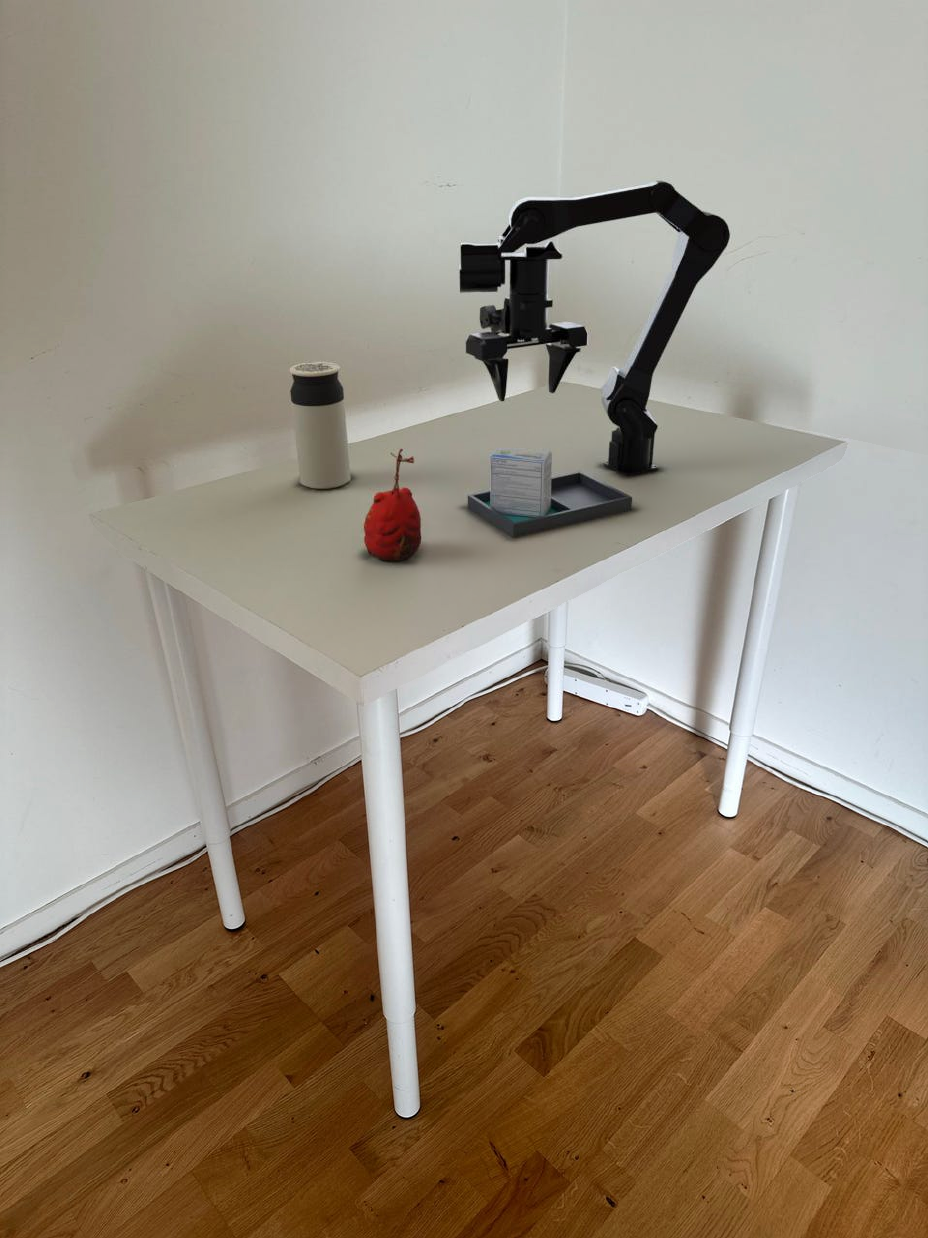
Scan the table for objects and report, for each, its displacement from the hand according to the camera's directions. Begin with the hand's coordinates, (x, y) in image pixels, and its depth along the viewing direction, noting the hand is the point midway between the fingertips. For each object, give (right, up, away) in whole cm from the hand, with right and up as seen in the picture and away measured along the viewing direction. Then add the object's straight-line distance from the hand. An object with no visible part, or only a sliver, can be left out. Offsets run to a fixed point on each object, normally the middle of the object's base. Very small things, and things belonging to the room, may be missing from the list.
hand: (526, 396), depth 142 cm
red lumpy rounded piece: (-19, -26, -22) cm, 39 cm away
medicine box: (-2, -19, -11) cm, 22 cm away
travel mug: (-32, -13, +3) cm, 35 cm away
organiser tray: (+3, -19, -9) cm, 21 cm away
